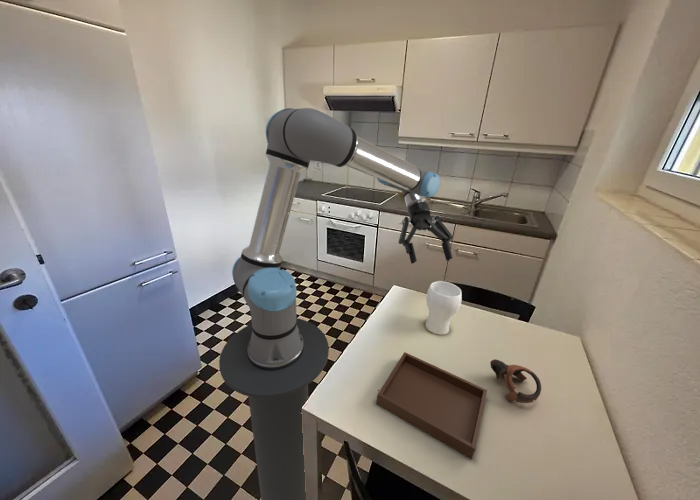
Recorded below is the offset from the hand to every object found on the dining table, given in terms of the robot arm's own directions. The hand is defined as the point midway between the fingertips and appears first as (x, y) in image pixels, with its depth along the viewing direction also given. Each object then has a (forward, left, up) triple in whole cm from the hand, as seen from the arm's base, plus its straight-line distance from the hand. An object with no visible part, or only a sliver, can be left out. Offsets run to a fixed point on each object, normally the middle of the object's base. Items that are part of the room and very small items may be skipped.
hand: (432, 260), depth 94 cm
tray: (+14, -36, -20) cm, 43 cm away
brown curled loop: (+30, -20, -20) cm, 41 cm away
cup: (+7, -7, -20) cm, 22 cm away
